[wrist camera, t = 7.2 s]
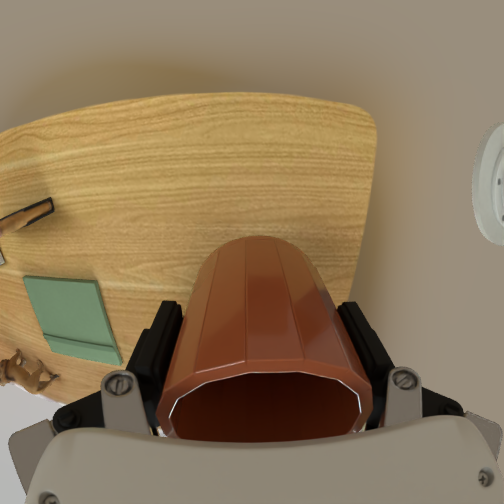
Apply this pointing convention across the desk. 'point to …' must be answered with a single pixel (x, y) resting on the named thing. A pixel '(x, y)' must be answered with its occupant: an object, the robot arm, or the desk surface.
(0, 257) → the hard drive
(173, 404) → the cup
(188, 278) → the desk surface
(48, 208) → the ammunition clip
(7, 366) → the lion figurine
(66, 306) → the notepad
